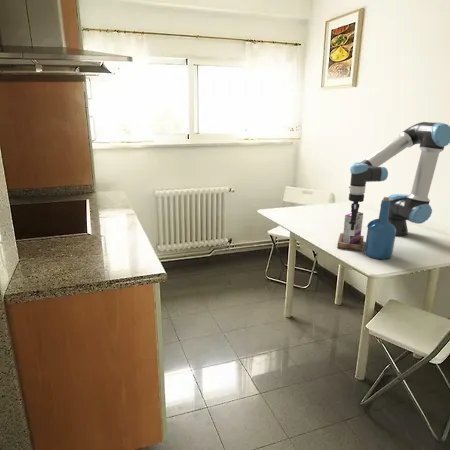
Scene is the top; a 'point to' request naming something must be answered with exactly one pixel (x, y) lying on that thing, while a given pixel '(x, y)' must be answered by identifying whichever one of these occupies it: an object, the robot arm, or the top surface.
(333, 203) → the top surface
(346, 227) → the candy bar box
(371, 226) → the wine bottle
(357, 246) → the tray
